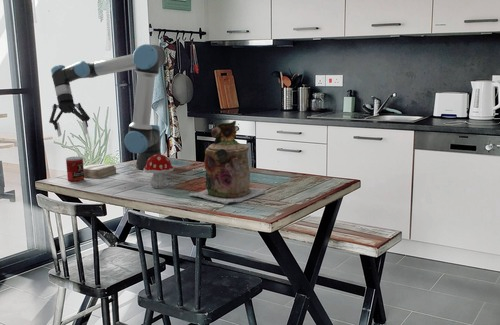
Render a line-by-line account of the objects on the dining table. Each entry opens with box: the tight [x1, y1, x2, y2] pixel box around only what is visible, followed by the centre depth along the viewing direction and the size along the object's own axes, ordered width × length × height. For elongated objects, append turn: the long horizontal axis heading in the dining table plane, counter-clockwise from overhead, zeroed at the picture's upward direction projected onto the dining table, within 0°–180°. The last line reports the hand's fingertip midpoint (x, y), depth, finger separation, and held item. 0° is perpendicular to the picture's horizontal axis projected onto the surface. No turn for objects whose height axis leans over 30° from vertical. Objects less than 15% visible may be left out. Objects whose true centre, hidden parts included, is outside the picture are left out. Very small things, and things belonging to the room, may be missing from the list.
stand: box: [83, 163, 117, 179], centre depth 271 cm, size 14×14×4 cm
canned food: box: [65, 156, 85, 183], centre depth 258 cm, size 8×8×11 cm
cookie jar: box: [188, 120, 268, 205], centre depth 224 cm, size 25×25×32 cm
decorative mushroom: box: [143, 153, 175, 189], centre depth 242 cm, size 14×14×15 cm
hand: (73, 134), depth 268 cm, fingers open, 13 cm apart
